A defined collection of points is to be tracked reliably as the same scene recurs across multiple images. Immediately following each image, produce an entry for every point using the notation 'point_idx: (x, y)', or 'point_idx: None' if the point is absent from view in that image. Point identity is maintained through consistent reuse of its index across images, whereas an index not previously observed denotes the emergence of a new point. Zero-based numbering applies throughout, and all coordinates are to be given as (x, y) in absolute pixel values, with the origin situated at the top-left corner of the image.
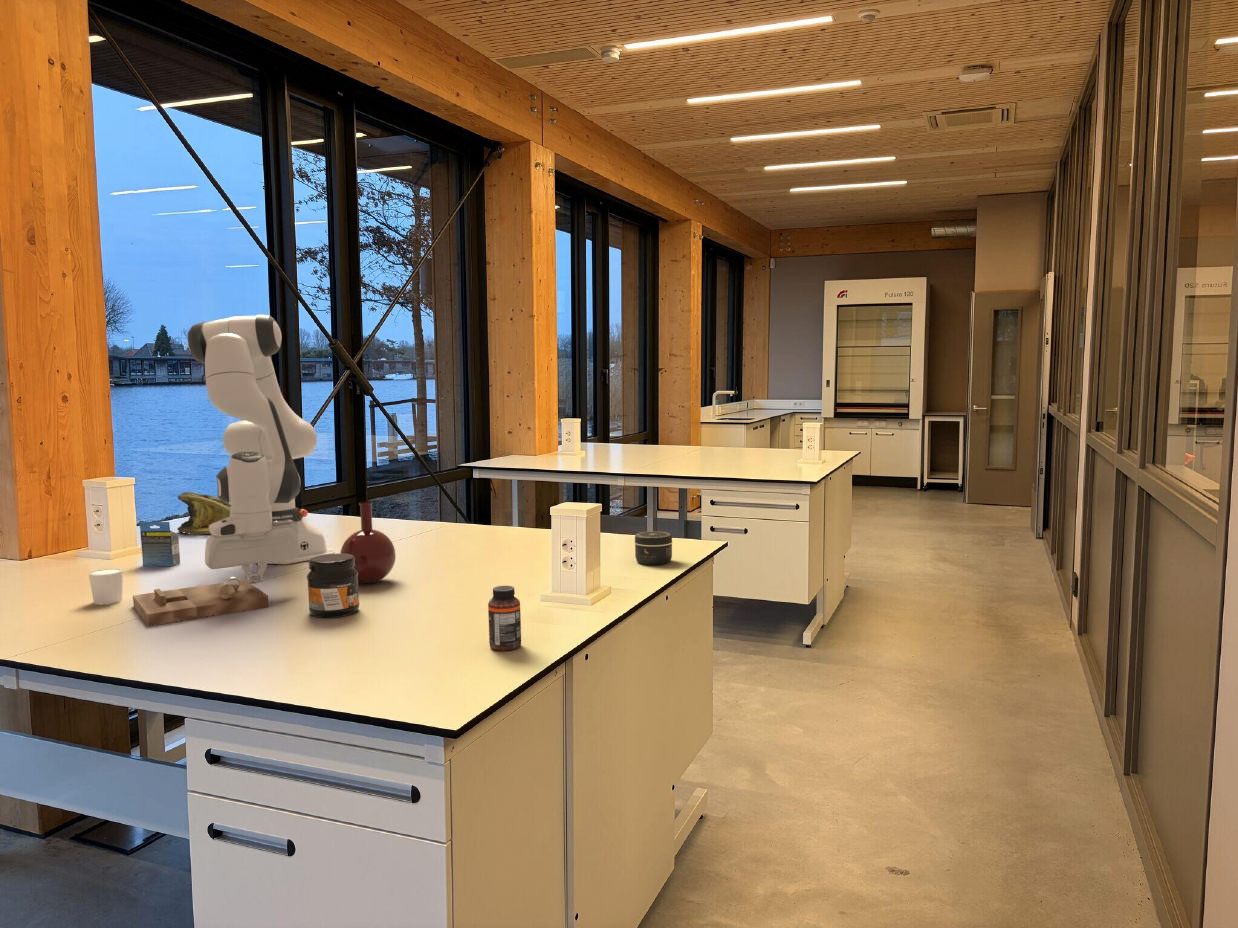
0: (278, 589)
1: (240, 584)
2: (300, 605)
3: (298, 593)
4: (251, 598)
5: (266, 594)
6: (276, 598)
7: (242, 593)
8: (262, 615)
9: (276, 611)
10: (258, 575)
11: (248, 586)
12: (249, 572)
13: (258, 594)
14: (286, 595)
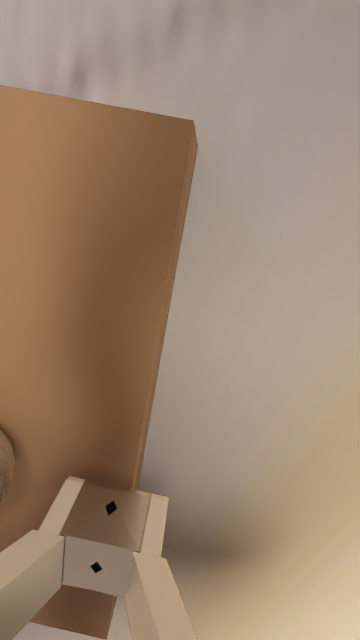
0: (347, 334)
1: (8, 489)
2: (218, 636)
3: (347, 499)
4: (29, 620)
5: (109, 621)
6: (213, 497)
7: (18, 527)
8: (59, 633)
9: (115, 632)
10: (118, 592)
11: (103, 412)
12: (19, 629)
13: (78, 597)
14: (281, 487)
